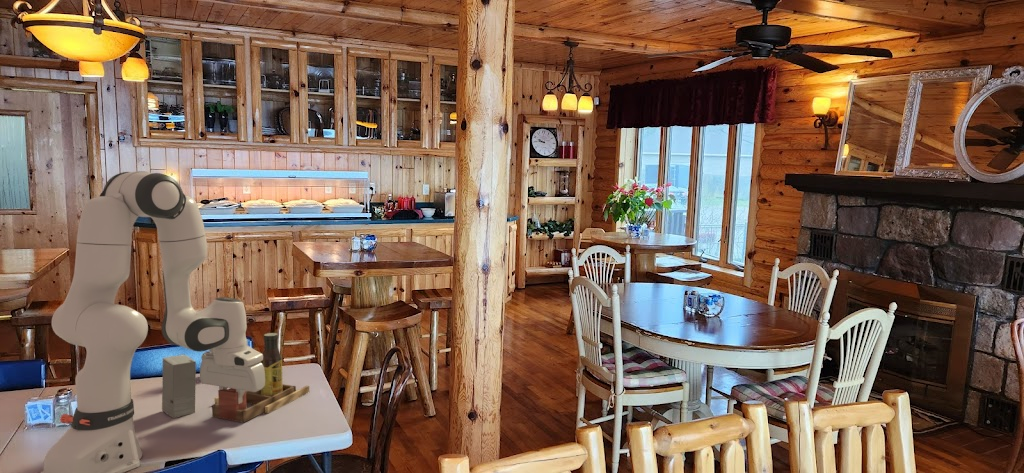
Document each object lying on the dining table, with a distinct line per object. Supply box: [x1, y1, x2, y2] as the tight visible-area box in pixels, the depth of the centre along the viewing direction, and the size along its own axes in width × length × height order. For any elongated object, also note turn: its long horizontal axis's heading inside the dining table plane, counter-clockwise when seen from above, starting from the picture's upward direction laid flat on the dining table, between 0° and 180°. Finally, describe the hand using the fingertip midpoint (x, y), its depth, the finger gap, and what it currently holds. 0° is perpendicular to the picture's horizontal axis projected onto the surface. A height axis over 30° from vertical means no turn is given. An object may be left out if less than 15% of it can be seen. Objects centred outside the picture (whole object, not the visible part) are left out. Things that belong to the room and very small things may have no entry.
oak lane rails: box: [214, 385, 310, 414], centre depth 203 cm, size 19×19×2 cm
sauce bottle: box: [260, 332, 284, 396], centre depth 202 cm, size 6×6×20 cm
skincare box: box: [161, 354, 197, 419], centre depth 191 cm, size 8×7×16 cm
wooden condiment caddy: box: [211, 383, 297, 423], centre depth 196 cm, size 22×11×8 cm, turn 160°
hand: (232, 402), depth 187 cm, fingers closed on wooden condiment caddy, 2 cm apart
